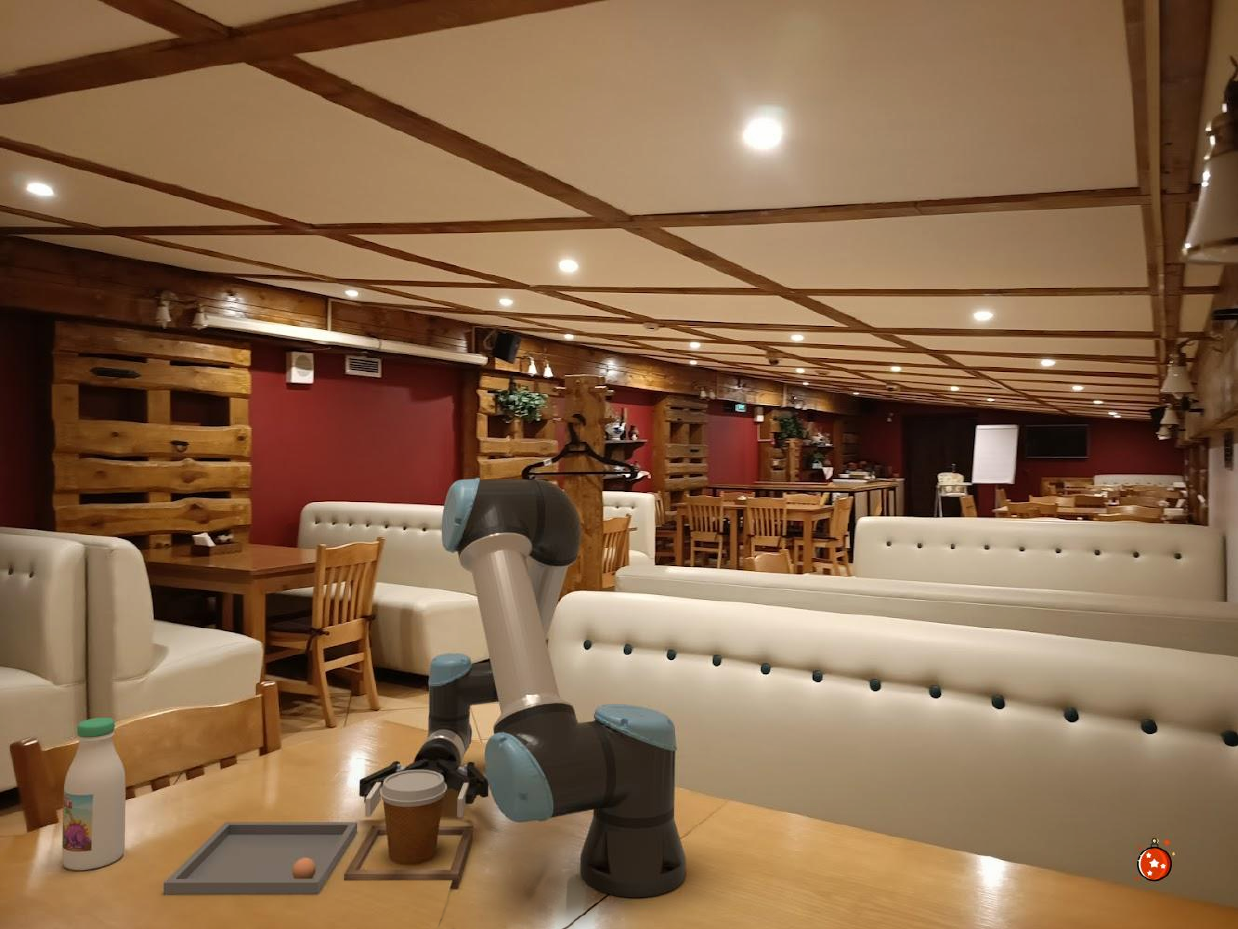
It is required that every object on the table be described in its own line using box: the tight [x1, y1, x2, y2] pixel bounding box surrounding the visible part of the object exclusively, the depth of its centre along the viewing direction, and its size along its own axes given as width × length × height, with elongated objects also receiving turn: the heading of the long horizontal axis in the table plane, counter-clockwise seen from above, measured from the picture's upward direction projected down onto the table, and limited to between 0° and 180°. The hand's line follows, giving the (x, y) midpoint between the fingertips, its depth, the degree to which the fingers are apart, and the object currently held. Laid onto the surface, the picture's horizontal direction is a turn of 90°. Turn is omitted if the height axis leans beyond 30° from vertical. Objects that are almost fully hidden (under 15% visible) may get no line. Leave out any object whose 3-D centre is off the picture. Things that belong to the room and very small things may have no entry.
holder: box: [343, 825, 474, 890], centre depth 124 cm, size 15×15×2 cm
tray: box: [163, 821, 358, 896], centre depth 121 cm, size 20×19×3 cm
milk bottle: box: [61, 717, 126, 871], centre depth 123 cm, size 8×8×20 cm
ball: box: [292, 858, 316, 879], centre depth 116 cm, size 3×3×3 cm
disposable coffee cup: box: [380, 770, 448, 866], centre depth 124 cm, size 10×10×12 cm
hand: (413, 808), depth 127 cm, fingers open, 13 cm apart
